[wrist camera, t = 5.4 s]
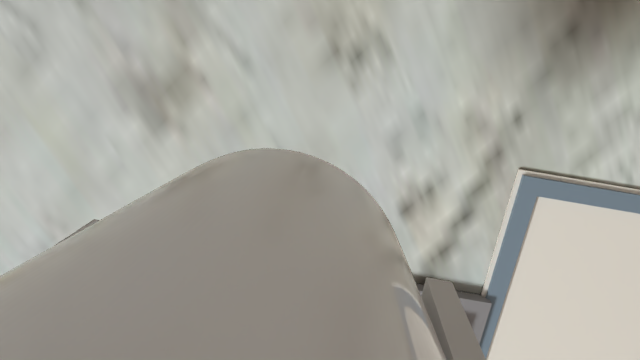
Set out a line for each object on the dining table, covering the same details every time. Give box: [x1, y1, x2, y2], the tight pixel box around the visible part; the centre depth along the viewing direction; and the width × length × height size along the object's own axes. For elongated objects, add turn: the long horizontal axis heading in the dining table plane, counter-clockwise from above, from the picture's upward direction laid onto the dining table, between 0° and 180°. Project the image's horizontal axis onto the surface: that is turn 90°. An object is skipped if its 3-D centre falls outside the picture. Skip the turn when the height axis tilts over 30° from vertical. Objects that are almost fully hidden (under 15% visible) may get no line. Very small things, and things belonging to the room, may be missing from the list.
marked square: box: [479, 169, 640, 360], centre depth 32 cm, size 19×19×1 cm
